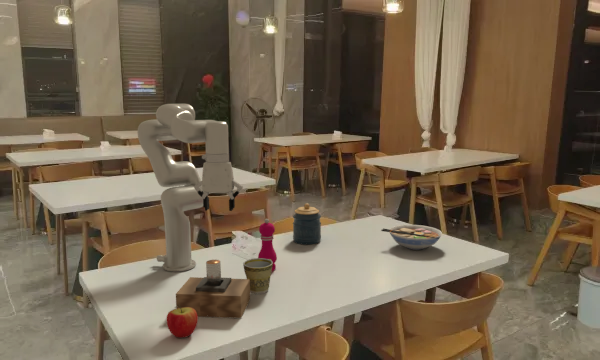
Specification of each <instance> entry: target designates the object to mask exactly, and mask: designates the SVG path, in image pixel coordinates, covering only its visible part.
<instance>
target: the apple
mask: <svg viewBox="0 0 600 360" xmlns="http://www.w3.org/2000/svg"><path fill="white" fill-rule="evenodd" d="M177 305H178V306H179V304H177ZM179 307H180V306H179ZM198 319H199V317H198V316H197V312H196V311H195V309H193V308H191V307H184V308H181V307H180V308H178V309H176V308H174V309H172V310H170V311H168V313H167V315H166V326H167V329H168V330H169V332H170V333H171V334H172V335H173V336H174V337H176V338H180V339H182V338H187V337H189V336H190V335H192V334H194V332H195V330H196V328H197V326H198V322H199V321H198Z"/></svg>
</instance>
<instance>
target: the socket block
mask: <svg viewBox="0 0 600 360" xmlns="http://www.w3.org/2000/svg"><path fill="white" fill-rule="evenodd" d="M250 301H251V293H250V279H247V278H232V277H221V285H220V286H207V276H204V277H199V276H198V277H195V276H194V277H191V276H190V277H189V278H188V279H187V280H186V281H185V282H184V284H183V285H182V286H181V287H180V288H179V289H178V290H177V291H176V293H175V305H176V306H175V307H176V308H175V309H178V308H180V307H181V308H184V307H191V308H193V309H195V311H196V312H197V316H198V318H200V317H203V318H204V317H205V318H224V319H225V318H227V319H228V318H229V319H242V318H243V316H244V314H245V311H246V309H247V307H248V305H249V302H250ZM177 304H179V306H180V307H179V306H178V305H177Z"/></svg>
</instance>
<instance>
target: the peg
mask: <svg viewBox="0 0 600 360" xmlns="http://www.w3.org/2000/svg"><path fill="white" fill-rule="evenodd" d="M205 265H206V267H205V269H206V270H205V271H206V277H207V286H220V285H221V278H222V274H221V273H222V270H221V268H222V265H221V260H219V259H209V260H207V261H206V262H205Z"/></svg>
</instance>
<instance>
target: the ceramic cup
mask: <svg viewBox="0 0 600 360" xmlns="http://www.w3.org/2000/svg"><path fill="white" fill-rule="evenodd" d="M242 264H243V269H244V270H243V271H244V274H245V276H246V278H245V279H250V294H253V295H264V294H266V293H268V292H269V289H270V288H269V287H270V282H271V277H272V272H273V271H272V265H273V262H272V260H271V259H264V258H258V257H257V258H250V259H246V260H245V261H243V263H242Z"/></svg>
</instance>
